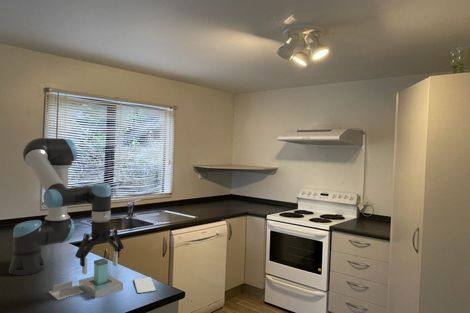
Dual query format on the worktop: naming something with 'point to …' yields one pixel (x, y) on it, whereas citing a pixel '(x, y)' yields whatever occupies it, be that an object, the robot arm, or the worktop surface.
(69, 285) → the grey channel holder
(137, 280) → the smartphone
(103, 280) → the plug
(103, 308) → the worktop surface
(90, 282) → the port panel
